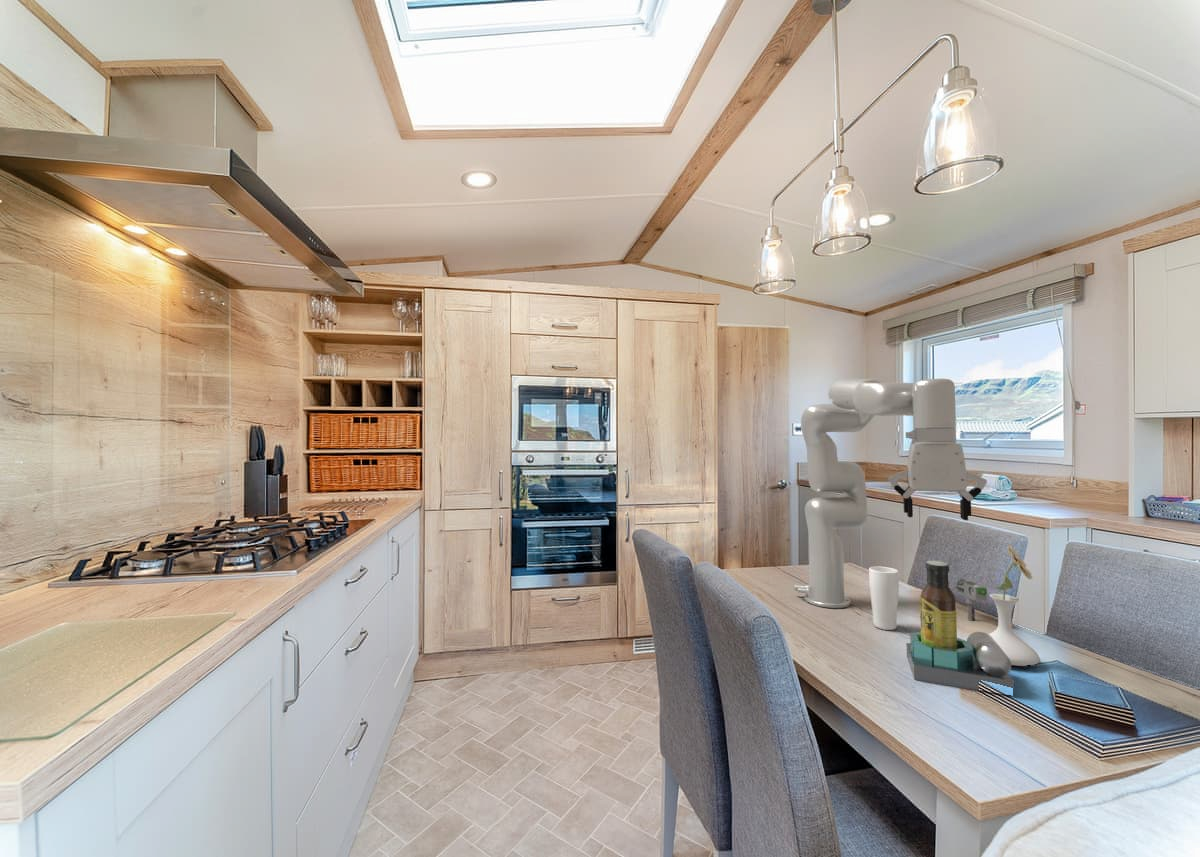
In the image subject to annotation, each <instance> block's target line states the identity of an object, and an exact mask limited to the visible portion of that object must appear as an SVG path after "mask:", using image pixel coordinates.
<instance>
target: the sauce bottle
mask: <svg viewBox="0 0 1200 857" xmlns="http://www.w3.org/2000/svg"><path fill="white" fill-rule="evenodd" d="M925 569H926V585H925V586H924V587H923V589H922V590H921V595H920V598H919V599H920V600H919V601H920V632H921V642H923V643H926V644H928V645H931V646H933V647H938V648H945V649H952V650H956V649H957V638H958V631H957V630H958V629H957V627H958V626H957V623H958V622H957V608H956V602H957V601H956V600H957V599H956V596H955V594H954V593H953V591H952V590H951V588H950V586H949V585H950V584H949V583H950V582H949V572H950V565H949V563H948V562H944V561H938V560H927V561H926V562H925Z"/></svg>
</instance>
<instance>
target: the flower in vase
mask: <svg viewBox="0 0 1200 857" xmlns="http://www.w3.org/2000/svg"><path fill="white" fill-rule="evenodd" d="M1006 549H1007V551H1008V553H1009V555H1010V557H1011V559H1012V563H1011V565H1010V566H1009V568H1008V569H1007V570H1006V572H1005V574H1004V578H1003V583H1002V584H1001V585H1000V586H998V587H997V588H996V589H997V590H1001V591H1002V593H990V594H989V597H990V598H991V600H993V602H994V605H995V607H996V611H997V616H998V617H997V622H998V624H997V627H996V629H995V630H994V631H992V632H990V633H988V634H989V635H990V636H991V637H992V638H993V639H994V640H995V641H996V643H997V644H998V645H999V646H1000V648H1001V649H1002V650H1003V651H1004V653H1005V654H1006V655H1007V657H1008V658H1009V659H1010V661H1011V666H1017V667H1028V666H1027V665H1031V666H1036V665H1037V664H1038V663H1040V661H1041V658H1040V655H1039V654H1038V653H1037V651H1036V650H1034V648H1033V647H1031V646H1030V645H1029V644H1028V643H1026V642H1025V641H1024V640H1022V639H1021V638H1020V637H1019V636H1018V635H1017V634H1016V633H1015V632H1014V630H1013V626H1012V614H1013V613H1012V612H1013V610H1014V609H1013V608H1014V607H1015V605H1016V603H1017V602H1019V600H1020V599H1019V598H1018V597H1016V596H1013V595H1009V594H1006V591H1007V590H1009V589H1013V588H1014V585H1013V583H1012V581H1011V579H1010V578H1009V577H1008V576H1009V573H1010V571H1011V570H1012V568H1013V567H1014V566H1015V567H1018V569H1019V570H1020V572H1021V573H1022V574H1023V576H1025V577H1026V578H1027V579H1028V580H1033V577H1032V576H1033V574H1032V572H1030V570H1029V569H1028V568H1026V567H1027V565H1026V563H1025V561H1022V560H1021V557H1020V555H1019V553H1018V552H1017V551H1015V549H1014V547H1013V545H1009V544H1007V545H1006ZM1035 664H1036V665H1035Z"/></svg>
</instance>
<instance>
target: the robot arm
mask: <svg viewBox="0 0 1200 857" xmlns="http://www.w3.org/2000/svg"><path fill="white" fill-rule="evenodd" d="M827 396H828V400H830V402H831V403H820V404H813V405H810V406H808V407H806V408H805V409H804V410H803V411H802V415H801V418H800V429H801V433H802V437H803V440H804V443H805V447H806V448H805V449H806V460H807V461H806V462H807V477H808V484H809V487H810V489H811V490H812V491H815V492H817V493H842V494H843V496H820V497H813V498H811V499H809V500H808V501H807V502H806V504H805V505H804V517H805V522H806V525H807V526H806V527H807V532H808V533H807V535H808V560H809V563H808V564H809V565H808V568H809V570H808V571H809V582H808V584H805V585H803V584H802V585H801V584H798V583H797V584H796V583H794V585H793V589H794V591H796V592H797V593H801V594H804V600H805V602H807V603H808V602H809V604H811V605H814V606H817V607H821V608H829V609H842V608H848V607H850V606H851V599H849V598H848V597H847V596H845V562H844V561H845V560H844V559H845V558H844V557H845V556H844V545H843V544H844V543H843V541H842V539H841V537H840V536H839V535H838V533H837V531H836V530H838V529H859V528H862V527H863V526H864V525H865V524H866V522H867V519H868V501H867V488H866V487H867V485H866V476H865V473H864V470H863V469H862V467H861V466H860V465H859V464H858V463H856V462H854V461H849V460H848V461H843V460H842V461H839V459H838V448H837V445H836V443H835V441H834V440H833V439H832V438H831V436H830V435H829V434H828V433H856V432H859V431H862V430H864V429H865V428H866V427H867V425H868V424H869V423H870V422H871V421H872V420H873V418H874V417H875V416H883V417H886V416H888V417H889V416H894V417H895V416H906V417H909V416H910V417H912V424H913V426H912V428H913V429H912V430H911V431H908V432H906V431H905V438H906V439H909V440H910V439H911V440H912V442H913V443H910V444H909V448H908V456H907V464H906V466H907V469H904V470H902V471H900V472H898V473H895V474H892V475H891V476H889V477H888V482H889V483H890V485H891V486H892V488H893V489H894V491H895V492H897V493H898V494H899V495H900V496H901V497H903V498H902V500H903V513H905V514H906V516H907V517H908V518H913V515H914V513H913V512H914V511H913V509H914V508H913V499H912V495H914V493H915V492H916V491H924V492H926V491H928V492H950V493H951V492H956V493H958V494H959V495H960V496H961V499H960V500H959V505H960V518H961V519H962V520H964V521H969V517H971V516H972V501H973V500H974V498H976V497H977V496H978V495H980V494H981V493H982V490H983V489H984V488H985V486H986V485H987V483H988V480H987V479H985V478H983V477H980V476H979V475H976V474H974V473H972V472H970V471H967V467H966V460H965V454H964V449H963V444H962V443H957V422H956V421H957V420H956V419H957V418H956V415H957V412H956V411H957V410H956V386H955V383H954V381H953V380H951V379H948V378H927V379H922V380H918V381H916V382H882V381H881V380H879V379H877V378H842V379H839V380H837V381H835V382H834V383H832V385H831V386H830V387H829V389H828V394H827ZM904 478H906V483H907V487H906V488H905V489H904V488H902V487H901V485H900V484H899V483H898V481H900V480H901V479H904ZM968 480H970V481H972V482H975V484H974V486H973V488H971V489H970V490H967V487H968Z"/></svg>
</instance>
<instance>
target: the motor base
mask: <svg viewBox="0 0 1200 857" xmlns="http://www.w3.org/2000/svg"><path fill="white" fill-rule="evenodd" d="M989 634H990V633H987V632H984V631H974V632H972V633H971V634H969V635H968V637H967V639H966V640H965V639H962V638H960V637H957V649H956V650H952V649H945V648H938V647H933V646H931V645H928V644H926V643H923V642H921V631H917V632H910V634H909V640H910V641H909V642H906V657H907V662H908V664H909V667H910V671H911V673H912V677H913V679H914V681H919V682H926V683H932V684H936V685H944V686H948V687H955V688H960V689H966V690H971V691H977V692H981V691H980V690H979V686H978V684H979V681H981V680H983V681H987V682H992V683H995V684H1000V685H1003V686H1007V687H1011V688H1014V689H1015V687H1014V684H1015V682H1014V680H1013V678H1012V676H1010V671H1011V669H1012V665H1011V661H1010V659H1009V658H1008V657H1007V655H1006V654H1005V653H1004V651H1003V650H1002V649H1001V648H1000V646H999V645H998V644H997V643H996V641H995V640H994V639H993V638H992V637H991V636H990V635H989Z"/></svg>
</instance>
